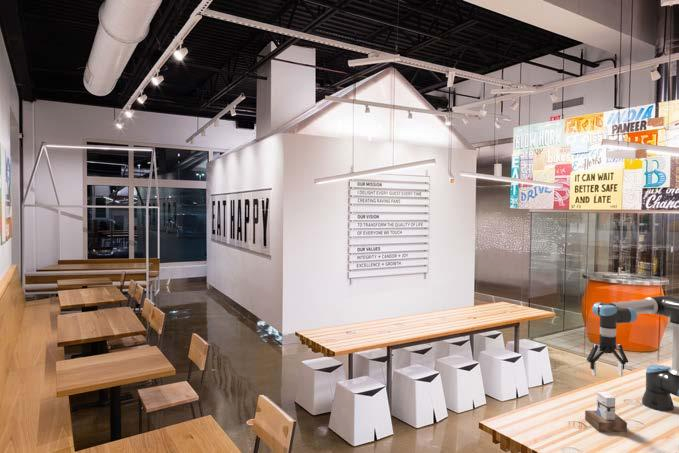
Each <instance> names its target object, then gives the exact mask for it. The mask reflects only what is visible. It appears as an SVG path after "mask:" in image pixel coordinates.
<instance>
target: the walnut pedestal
mask: <svg viewBox="0 0 679 453" xmlns="http://www.w3.org/2000/svg"><path fill="white" fill-rule="evenodd" d="M584 420H585V421H586V422H587V423H588V424H590V426H591V427H593V428H594V429H595V430H596V431H597V432H598V433H627V432H628V422H627V421H625V420H624V419H623V418H621V417H620V416H619V415H617V414H616V413H615V420H605V419H604V418H603V417H602V416H600V415H599V414H598V413H597V410H584Z"/></svg>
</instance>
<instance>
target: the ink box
mask: <svg viewBox="0 0 679 453" xmlns="http://www.w3.org/2000/svg"><path fill="white" fill-rule="evenodd" d="M596 394H597V395H596V396H597V399H596V411H597V413H598V414H599V415H600V416H602V417H603V418H604V419H605V420H615V414H616V397H615V396H614V395H612V394H610V393H609V392H608V391H597V393H596Z"/></svg>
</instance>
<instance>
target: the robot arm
mask: <svg viewBox="0 0 679 453" xmlns="http://www.w3.org/2000/svg"><path fill="white" fill-rule="evenodd" d="M592 313H593V314H594V315H595V316H597V317H599V338H598V339H599V344H596V343H592V349H591V350H590V352H589V354H588V356H587V358H586V362H588V363H590V365H589V366H590V369H591V375H592V376H594V377H596V376H597V363H596V362H597V361H598V360H599V359H600V358H601V356H602V355H604V354H613V355H614V357H615V358H616V359H617V360H618V364H617V375H618V376H620V377H623V376H624V375H623V374H624V372H623V371H624V370H625V365H626V364H627V363H629V359H628V357H627V356H626V354H625V351H624V350H623V345H622V344H619V343H617V337H616V336H617V326H618V325H617V324H630V323H634V322H636V321H637V319H638V315H642V314H649V315H660V316H664V317H668V318H669V323H670V324H671V325H672V352H671V353H672V357H671V358H672V359H671V360H672V362H671V367H670V366H668V365H660V364H651V365H650V364H649V365H648V366H647V367H646V371H645V391H644V393H643V395H642V398H641V404H642V405H644V406H645V407H647V408H650V409H653V410H656V411H657V410H658V411H664V412H670V411H673V410H674V402H673V398H672V395H674V396H676V397H678V398H679V297H676V296H672V295H658V296H649V297H645V298H644V299H637V300H630V301H629V300H628V301H619V302H618V301H617V302H608V303H604V302H600V301H599V302H595V303H594V304H593V305H592ZM616 349H617V350H618V352H617V350H616ZM618 353H619V354H620V355H619V354H618Z"/></svg>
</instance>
